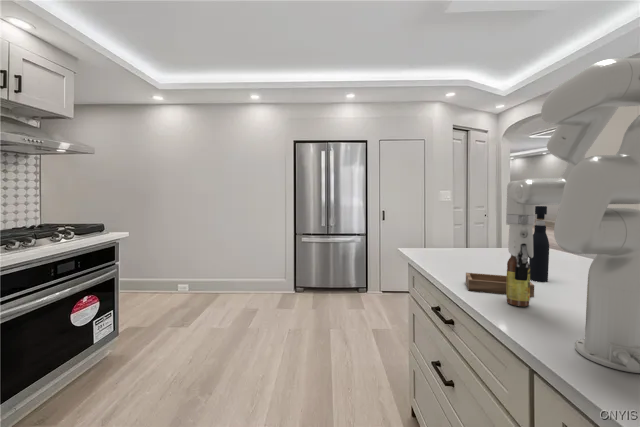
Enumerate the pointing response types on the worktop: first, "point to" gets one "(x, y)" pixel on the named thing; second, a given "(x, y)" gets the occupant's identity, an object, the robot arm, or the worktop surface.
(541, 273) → the wine bottle
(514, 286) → the sauce bottle
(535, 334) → the worktop surface
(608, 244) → the robot arm
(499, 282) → the bottle tray
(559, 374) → the worktop surface
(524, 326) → the worktop surface
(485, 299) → the worktop surface
